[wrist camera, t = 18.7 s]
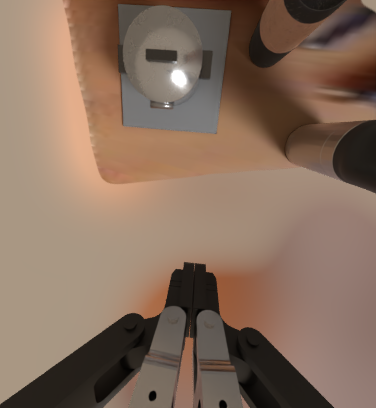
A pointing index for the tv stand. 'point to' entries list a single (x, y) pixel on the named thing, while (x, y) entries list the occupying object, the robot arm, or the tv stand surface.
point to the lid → (162, 55)
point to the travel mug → (287, 27)
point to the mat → (206, 90)
